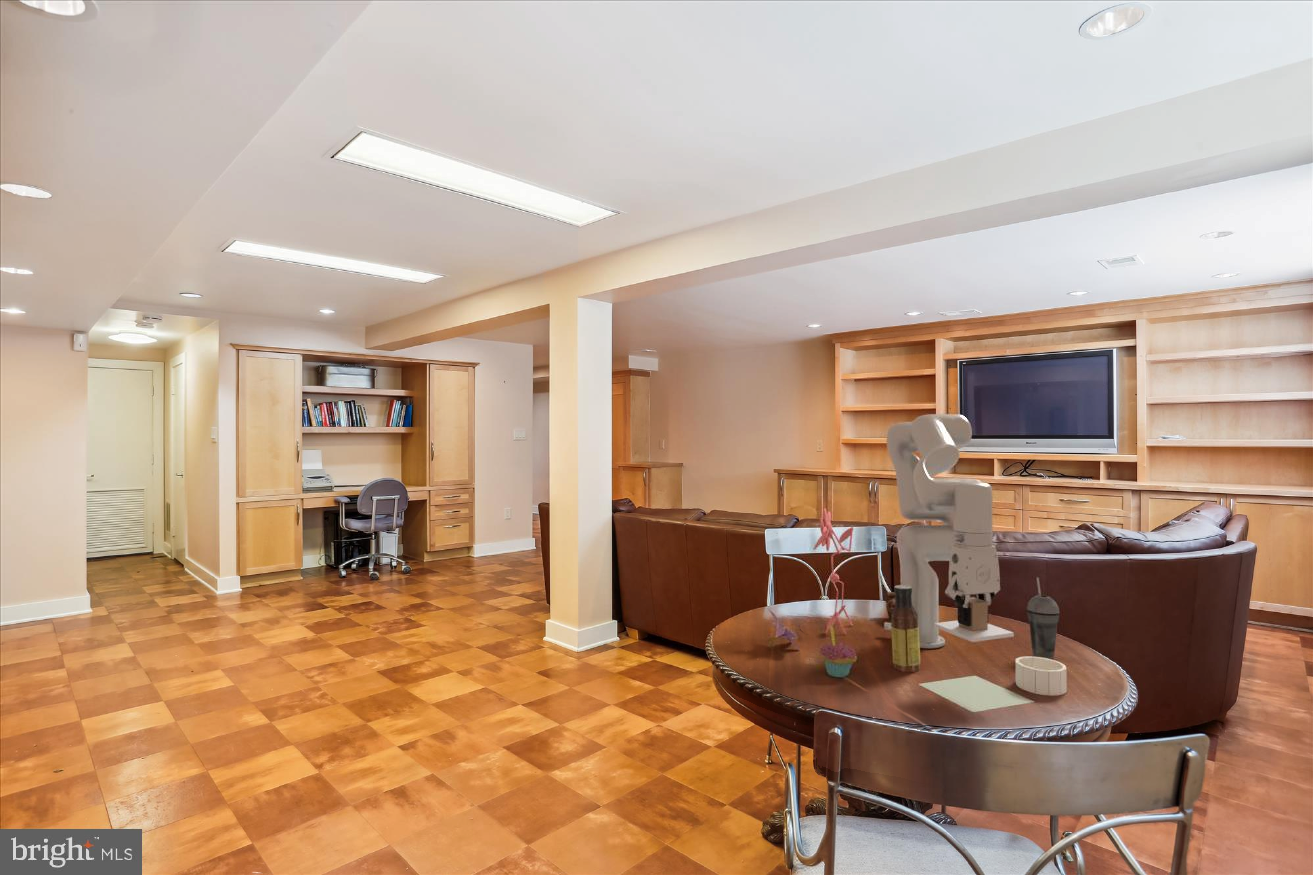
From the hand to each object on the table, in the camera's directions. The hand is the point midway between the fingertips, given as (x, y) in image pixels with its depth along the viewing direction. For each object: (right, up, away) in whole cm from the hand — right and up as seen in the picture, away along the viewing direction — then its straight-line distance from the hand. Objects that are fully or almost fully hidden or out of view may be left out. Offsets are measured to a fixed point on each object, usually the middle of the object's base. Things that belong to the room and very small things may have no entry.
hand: (973, 622), depth 143 cm
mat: (0, -15, 0) cm, 15 cm away
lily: (-35, -16, +32) cm, 50 cm away
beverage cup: (+29, -15, +23) cm, 40 cm away
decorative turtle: (+6, -16, +56) cm, 58 cm away
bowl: (+16, -15, +3) cm, 22 cm away
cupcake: (-26, -16, +13) cm, 33 cm away
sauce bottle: (-9, -16, +15) cm, 24 cm away
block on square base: (0, -2, 0) cm, 2 cm away
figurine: (-19, -16, +51) cm, 56 cm away
